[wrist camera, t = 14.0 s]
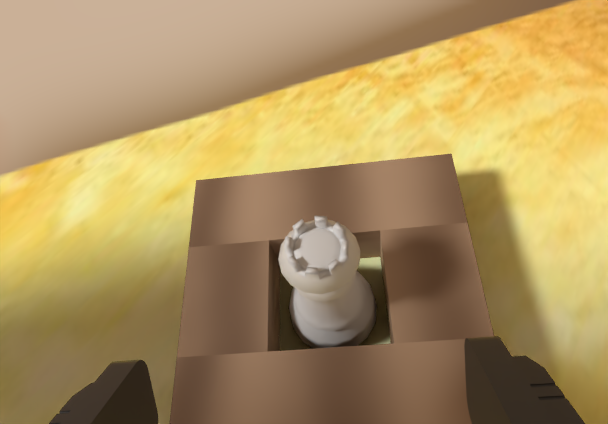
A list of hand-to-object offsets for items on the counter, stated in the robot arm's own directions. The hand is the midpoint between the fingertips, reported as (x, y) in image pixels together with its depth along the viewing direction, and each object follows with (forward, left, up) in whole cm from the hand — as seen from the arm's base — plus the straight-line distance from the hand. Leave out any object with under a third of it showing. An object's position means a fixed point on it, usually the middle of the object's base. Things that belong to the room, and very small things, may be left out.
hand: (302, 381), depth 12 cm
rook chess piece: (0, +6, -12) cm, 13 cm away
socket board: (0, +6, -12) cm, 13 cm away
